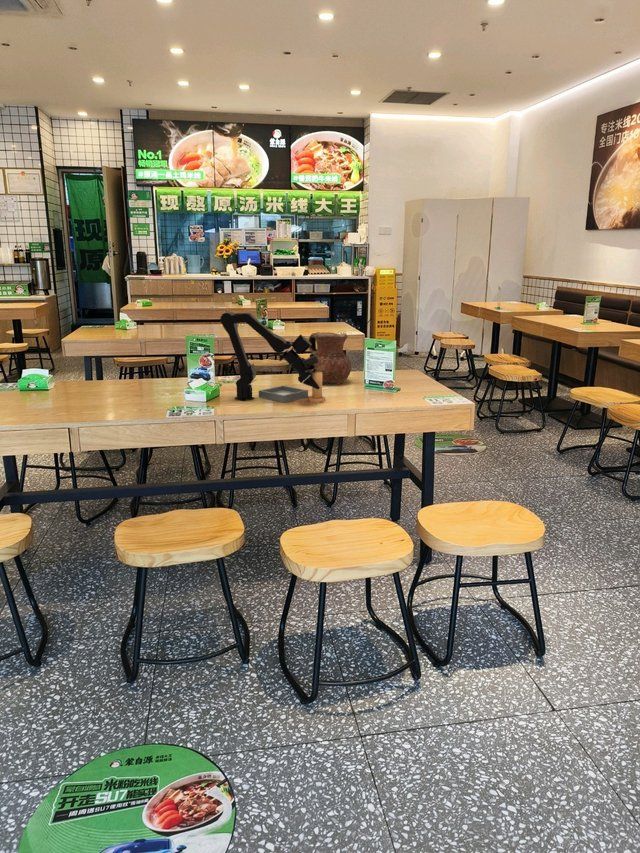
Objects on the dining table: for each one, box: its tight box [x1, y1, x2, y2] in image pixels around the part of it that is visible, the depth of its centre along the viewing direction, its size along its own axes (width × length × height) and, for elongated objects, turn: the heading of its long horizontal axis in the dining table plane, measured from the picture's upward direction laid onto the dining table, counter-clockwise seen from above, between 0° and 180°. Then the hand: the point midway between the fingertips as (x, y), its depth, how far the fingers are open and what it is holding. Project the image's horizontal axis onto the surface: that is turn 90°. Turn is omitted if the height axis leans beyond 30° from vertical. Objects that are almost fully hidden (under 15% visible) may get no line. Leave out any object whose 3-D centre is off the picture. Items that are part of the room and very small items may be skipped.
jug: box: [308, 331, 353, 386], centre depth 316 cm, size 22×21×25 cm
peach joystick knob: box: [308, 372, 326, 404], centre depth 277 cm, size 7×7×13 cm
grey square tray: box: [258, 385, 309, 403], centre depth 286 cm, size 16×16×3 cm
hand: (320, 386), depth 276 cm, fingers open, 9 cm apart
